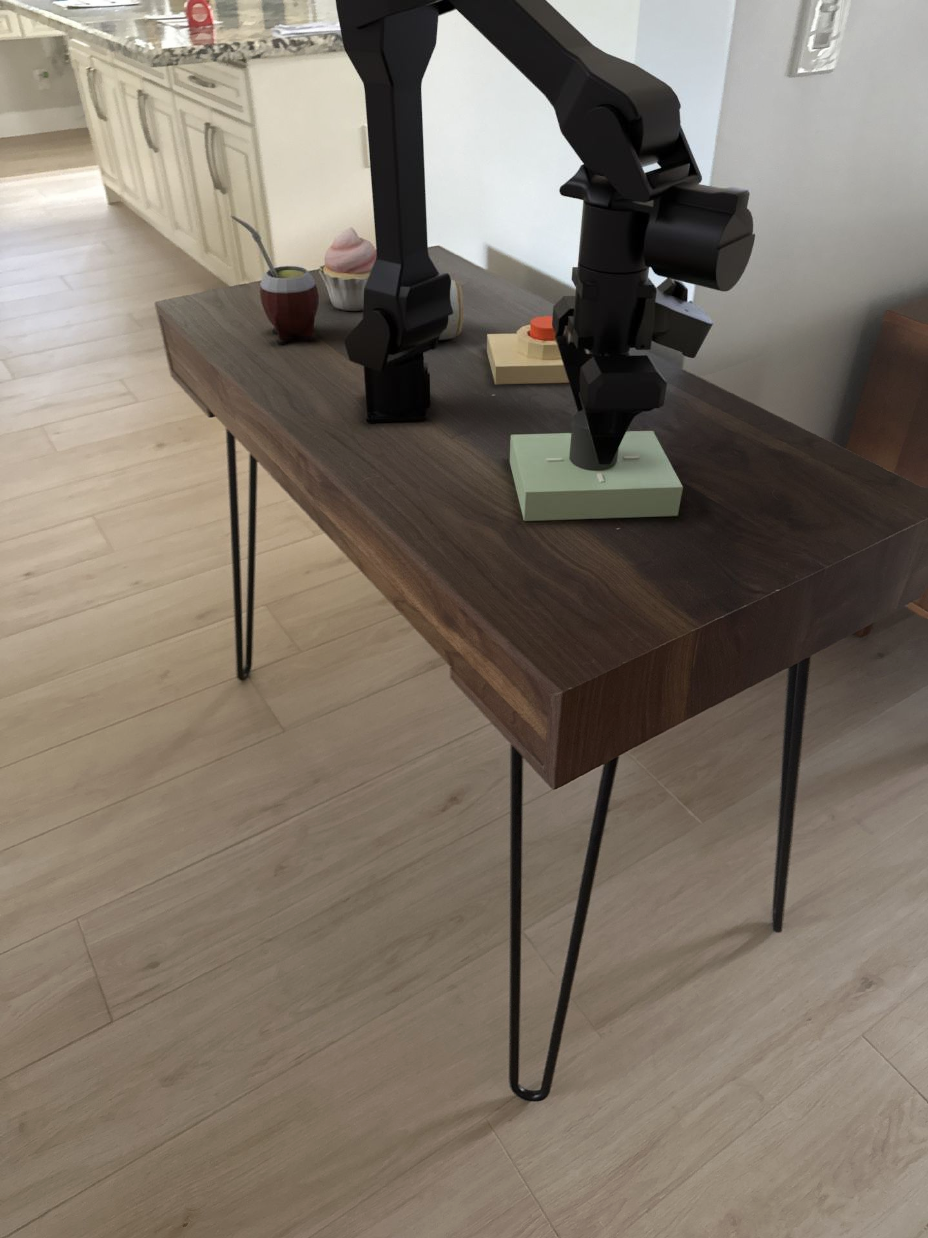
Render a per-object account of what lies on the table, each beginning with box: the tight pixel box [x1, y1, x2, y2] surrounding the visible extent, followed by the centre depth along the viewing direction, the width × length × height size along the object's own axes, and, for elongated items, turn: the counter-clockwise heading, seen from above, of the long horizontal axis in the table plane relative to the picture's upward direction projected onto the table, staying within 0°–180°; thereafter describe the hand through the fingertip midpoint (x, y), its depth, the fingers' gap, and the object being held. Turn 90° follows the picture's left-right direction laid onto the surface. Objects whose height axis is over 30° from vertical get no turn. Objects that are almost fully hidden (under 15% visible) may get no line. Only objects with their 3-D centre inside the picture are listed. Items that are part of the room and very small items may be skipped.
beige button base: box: [486, 324, 569, 385], centre depth 106 cm, size 13×10×4 cm
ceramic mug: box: [439, 279, 464, 341], centre depth 113 cm, size 11×8×8 cm
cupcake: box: [318, 226, 377, 312], centre depth 121 cm, size 9×9×10 cm
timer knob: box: [569, 410, 619, 470], centre depth 82 cm, size 4×4×4 cm
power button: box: [529, 315, 556, 341], centre depth 105 cm, size 4×4×2 cm
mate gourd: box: [230, 214, 320, 346], centre depth 109 cm, size 8×8×15 cm
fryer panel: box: [509, 430, 684, 522], centre depth 84 cm, size 14×11×3 cm
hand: (594, 439), depth 82 cm, fingers open, 9 cm apart
